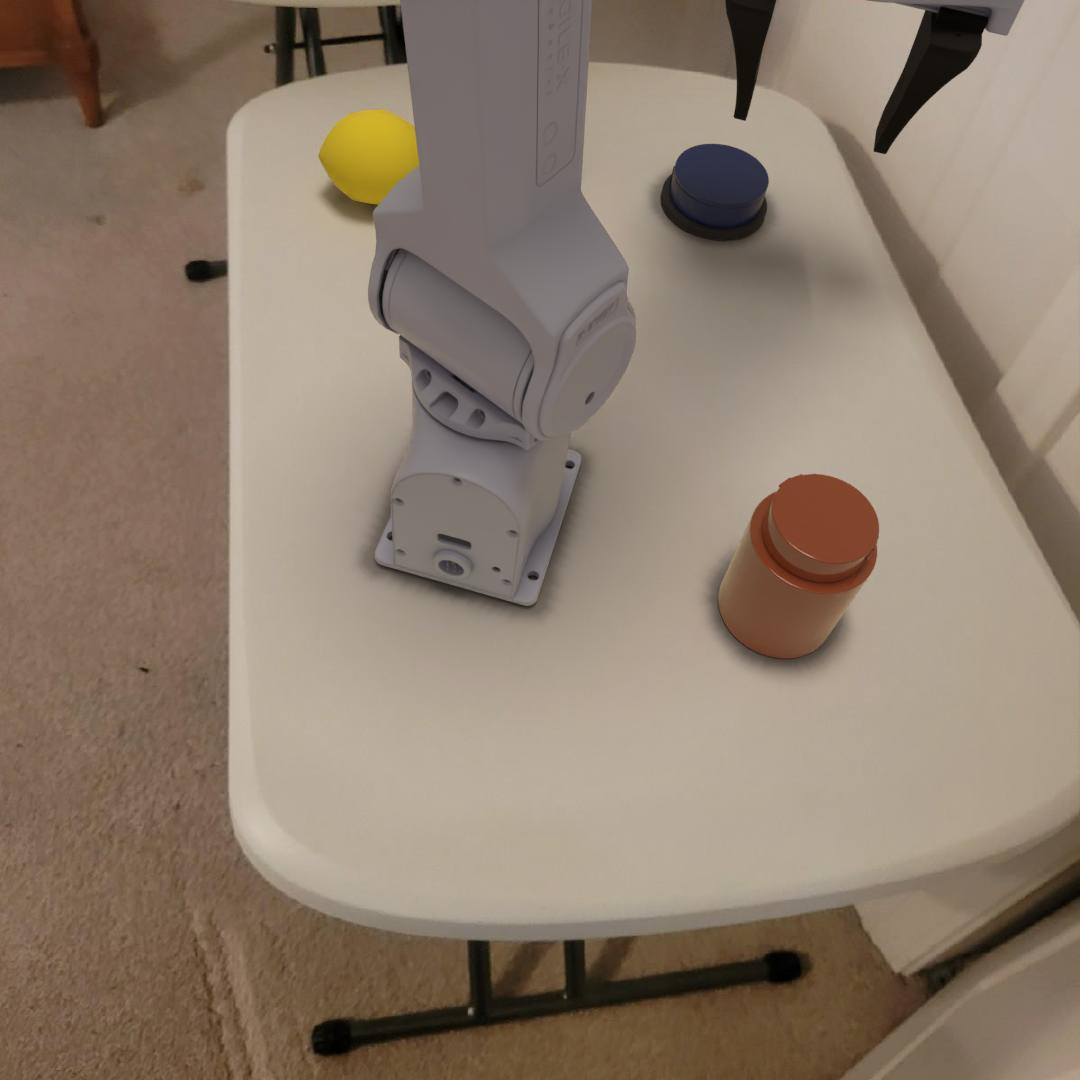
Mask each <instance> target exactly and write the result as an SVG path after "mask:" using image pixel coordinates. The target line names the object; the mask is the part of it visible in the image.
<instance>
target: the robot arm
mask: <svg viewBox="0 0 1080 1080" xmlns="http://www.w3.org/2000/svg"><path fill="white" fill-rule="evenodd" d="M724 1H725V2H724V3H725V13H726V17H727V20H728V24H729V28H730V33H731V37H732V42H733V50H734V57H735V70H736V71H735V72H736V94H735V98H736V99H735V105H734V112H733V115H732V117H733V118H734V119H736V120H740V121H744V122H746V121H747V117H748V116H749V111H750V108H751V104H752V99H753V95H754V92H755V88H756V84H757V81H758V74H759V70H760V65H761V59H762V55H763V50H764V45H765V42H766V39H767V36H768V33H769V30H770V26H771V22H772V18H773V15H774V12H775V7H776V3H777V0H724ZM866 1H868V2H874V3H887V4H896V5H899V6H900V5H901V6H906V7H910V8H913V9H918V10H922V11H924V12H923V16H922V18H921V21H920V24H919V26H918V30H917V32H916V34H915V38H914V40H913V43H912V45H911V49H910V50H909V54H908V56H907V59H906V62H905V64H904V67H903V69H902V71H901V73H900V75H899V77H898V80H897V81H896V84H895V86H894V88H893V90H892V92H891V94H890V96H889V98H888V100H887V102H886V104H885V106H884V109H883V110H882V114H881V116H880V119H879V121H878V124H877V127H876V130H875V135H874V143H873V153H878V154H882V155H886V154H888V152H889V151H890V148H891V147H892V145H893V144H894V143H895V141H896V139H897V138H898V136H899V135H900V134H901V133H902V131H903V130H904V129H905V127H906V126H907V125H908V123H910V121H912V119H913V118H914V117H915V115H916V114H917V113H918V112H919V111H920V110H921V109H922V108H923V106H925V104H926V103H928V101H930V99H931V98H932V97H934V96H935V95H936V94H937V93H938V92H939V91H940V90H941V89H942V88H943V87H945V86H946V85H947V84H948V83H950V82H951V81H953V79H955V78H956V77H957V76H959V75H960V74H962V73H963V72H964V71H966V70H967V69H969V67H970V66H971V65H972V63H973V62H974V61H975V60H976V58H977V57H978V54H980V52H981V51H980V50H981V49H982V45H983V34H984V31H987V32H988V33H992V34H996V35H1000V36H1004V37H1006V36H1008V35H1009V33H1010V31H1011V29H1012V27H1013V25H1014V23H1015V21H1016V19H1017V17H1018V15H1019V13H1020V11H1021V8H1022V7H1023V4H1024V2H1025V0H866ZM399 3H400V12H401V20H402V29H403V37H404V43H405V47H404V48H405V55H406V64H407V72H408V81H409V89H410V90H409V91H410V98H411V106H412V115H413V123H414V124H413V126H414V127H415V134H416V142H417V151H418V160H419V166H418V167H417V168H415V169H414V170H412V171H411V172H410V173H408V174H407V175H406V176H405V177H404V178H403V179H401V180H400V181H399V182H398V183H397V184H396V185H395V186H394V187H393V188H392V189H391V190H390V191H389V193H388V194H387V195H386V196H385V198H384V199H383V200H382V201H381V202H380V204H379V205H378V204H377V206H376V207H375V208H374V209H373V211H372V218H373V225H374V229H375V251H374V257H373V261H372V263H371V267H370V272H369V278H368V285H367V286H368V287H367V301H368V306H369V310H370V312H371V315H372V317H373V318H374V319H375V320H376V322H377V323H378V324H379V325H381V327H383V328H384V329H386V330H388V331H391V332H393V333H395V334H397V335H399V336H398V347H399V350H398V351H399V358H400V359H401V360H402V361H403V362H404V363H405V364H406V365H407V366H408V369H409V371H410V374H411V406H412V407H411V409H412V412H411V413H412V415H411V416H412V423H411V424H412V425H411V433H410V437H409V441H408V445H407V447H406V451H405V452H404V453H405V454H404V455H403V459H402V461H401V463H400V466H399V467H398V469H397V472H396V475H395V477H394V478H393V482H392V483H391V484H392V485H391V489H390V497H389V498H390V499H389V500H390V502H389V503H390V516H389V518H388V521H387V523H386V525H385V528H384V530H383V532H382V534H381V536H380V539H379V541H378V543H377V546H376V548H375V551H374V559H375V562H377V564H378V565H381V566H383V567H387V568H391V569H394V570H398V571H401V572H405V573H408V574H411V575H415V576H419V577H422V578H426V579H429V580H433V581H435V582H436V581H437V582H440V583H443V584H447V585H450V586H454V587H457V588H461V589H465V590H468V591H471V592H475V593H479V594H481V595H486V596H489V597H492V598H496V599H500V600H503V601H507V602H510V603H514V604H517V605H520V606H524V607H525V606H527V607H530V606H533V605H534V604H536V602H537V600H538V599H539V595H540V592H541V589H542V585H543V583H544V581H545V577H546V574H547V570H548V569H549V568H548V567H549V565H550V561H551V558H552V555H553V552H554V548H555V546H556V542H557V540H558V536H559V533H560V530H561V527H562V524H563V521H564V517H565V515H566V511H567V509H568V505H569V502H570V499H571V496H572V493H573V490H574V486H575V483H576V480H577V477H578V474H579V471H580V468H581V465H582V464H581V463H582V455H581V454H580V453H579V452H578V451H577V450H573V449H569V447H570V442H571V441H570V440H571V434H572V433H574V432H575V431H577V430H579V429H580V428H582V427H583V426H585V424H586V423H588V422H589V421H590V420H591V419H592V418H593V417H594V416H595V415H596V414H597V413H598V412H599V410H600V409H601V408H602V407H604V405H605V403H606V402H607V401H608V400H609V398H610V397H611V396H612V394H613V393H614V391H615V390H616V388H617V387H618V385H619V383H620V382H621V380H622V379H623V376H624V375H625V372H626V371H627V368H628V366H629V364H630V362H631V359H632V357H633V354H634V350H635V347H636V342H637V328H636V326H637V317H636V312H635V308H634V307H633V305H632V304H631V302H630V300H629V297H628V282H629V272H630V267H629V264H628V262H627V260H626V259H625V258H624V256H623V254H622V253H621V251H620V249H619V248H618V246H617V245H616V243H615V242H614V241H613V240H614V239H612V237H611V236H610V234H609V232H608V231H607V230H606V229H605V226H604V225H603V224H602V222H601V221H600V219H599V218H598V216H597V215H596V213H595V212H594V210H593V209H592V207H591V206H590V204H589V202H588V200H587V199H586V198H585V196H584V194H583V192H582V178H583V177H582V176H583V163H584V162H583V161H584V147H585V128H586V113H587V112H586V111H587V96H588V81H589V79H588V77H589V61H590V47H591V46H590V45H591V30H592V12H593V0H399ZM567 466H570V467H572V468H569V467H567ZM390 537H391V538H392V539H389V538H390ZM530 576H535V578H537V579H530V578H529V577H530Z"/></svg>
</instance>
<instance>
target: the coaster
mask: <svg viewBox="0 0 1080 1080" xmlns="http://www.w3.org/2000/svg"><path fill="white" fill-rule="evenodd" d="M671 176H672V173H670V175H669V176H667V178H666V179H665V181H664V182H663V185H662V188H661V193H660V203H661V207H662V210H663V211H664V213H665V215H666V216H667V217H668V219H669V220H670V221H671V222H672V223H673V224H675V225H676V226H677V227H678V228H680V229H682V230H683V231H685V232H687V233H689V234H691V235H694V236H696V237H700V238H703V239H707V240H713V241H733V240H740V239H743V238H745V237H747V236H750V235H751V234H754V233H755V232H756V231H758V229H759V228H761V226H762V225H763V223H764V221H765V217H766V215H767V211H768V202H767V197H766V196H765V197H764V200H763V203H762V206H761V209H760V211H759V213H758V215H757V216H756V217H755V218H754V219H753V220H752V221H750V222H748V223H746V224H744V225H741V226H737V227H731V228H718V227H711V226H707V225H703V224H700V223H698V222H695V221H693V220H691V219H690V218H688V217H686V216H685V215H684V214H682V213H681V212H680V211H679V210H678V209H677V208H676V206H675V205H674V204H673V202H672V200H671V197H670V185H671V184H670V180H671Z"/></svg>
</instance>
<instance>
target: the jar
mask: <svg viewBox="0 0 1080 1080" xmlns="http://www.w3.org/2000/svg"><path fill="white" fill-rule="evenodd" d="M879 535H880V523H879V517H878V515H877V512H876V510H875V508H874V506H873V504H872V503H871V502H870V500H869V499H868V498H867V497H866V496H865V494H863V493H862V492H861V490H859V489H857V487H855V486H854V485H852V484H850V483H848V482H846V481H845V480H842V479H840V478H837V477H835V476H831V475H827V474H821V473H808V474H802V473H801V474H798V475H795V476H791V477H788V478H787V479H785V480H784V481H782V482H781V483H780V484H778V489H777V490H776V491H773V492H772V493H770V494H769V495H767V496H766V497H765V498H763V499H762V500H761V501H760V502H759V503H758V504H757V506H756V507H755V509H754V510H753V512H752V515H751V517H750V519H749V521H748V524H747V526H746V527H745V529H744V531H743V534H742V537H741V539H740V541H739V543H738V545H737V547H736V550H735V552H734V554H733V556H732V558H731V561H730V563H729V565H728V567H727V569H726V572H725V573H724V576H723V578H722V580H721V583H720V585H719V588H718V592H717V604H718V610H719V614H720V616H721V619H722V621H723V623H724V624H725V625H724V626H726V628H727V629H728V631H729V632H730V633H731V634H732V635H733V637H735V638H736V640H738V641H739V642H740V643H741V644H743V645H744V646H745V647H747V648H748V649H750V650H752V652H753V651H754V652H756V653H757V654H761V655H763V656H766V657H771V658H775V659H794V658H800V657H804V656H807V655H808V654H811V653H813V652H814V651H816V650H817V649H819V648H820V647H821V646H822V645H823V644H824V642H825V641H826V640H827V639H828V637H829V636H830V635H831V633H832V631H834V629H835V627H836V625H837V624H838V623H839V621H840V620H841V618H842V617H843V615H844V614H845V613H846V611H847V610H848V608H849V607H850V605H851V604H852V602H853V601H854V599H855V598H856V596H857V595H858V594H859V592H860V591H861V589H862V588H863V586H864V585H865V583H866V582H867V580H868V579H869V577H870V576H871V575H872V572H873V571H874V569H875V566H876V564H877V558H878V541H879V538H880V536H879Z"/></svg>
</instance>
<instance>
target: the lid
mask: <svg viewBox="0 0 1080 1080" xmlns="http://www.w3.org/2000/svg"><path fill="white" fill-rule="evenodd" d="M671 174H672V176H671V180H670V184H671V185H670V197H671V200H672V202H673V204H674V205H675V206H676V208H677V209H678V210H679V211H680V212H681V213H682V214H684V215H685V216H686V217H688V218H690V219H691V220H693V221H695V222H698V223H700V224H703V225H707V226H711V227H718V228H731V227H737V226H741V225H744V224H746V223H748V222H750V221H752V220H753V219H754V218H755V217H756V216H757V215H758V213H759V211H760V209H761V206H762V203H763V200H764V197H765V198H766V194H767V190H768V187H769V184H770V178H769V174H768V171H767V169H766V167H765V166H764V165H763V164H762V162H760V161H759V160H758V159H757V158H756V157H755V156H754V155H752V154H750V153H749V152H747V151H745V150H744V149H740V148H738V147H735V146H732V145H729V144H721V143H702V144H697V145H694V146H691V147H689V148H687V149H685V150H684V151H683V152H681V153H680V154H679V156H678V157H677V159H676V161H675V163H674V165H673V167H672V171H671Z"/></svg>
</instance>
